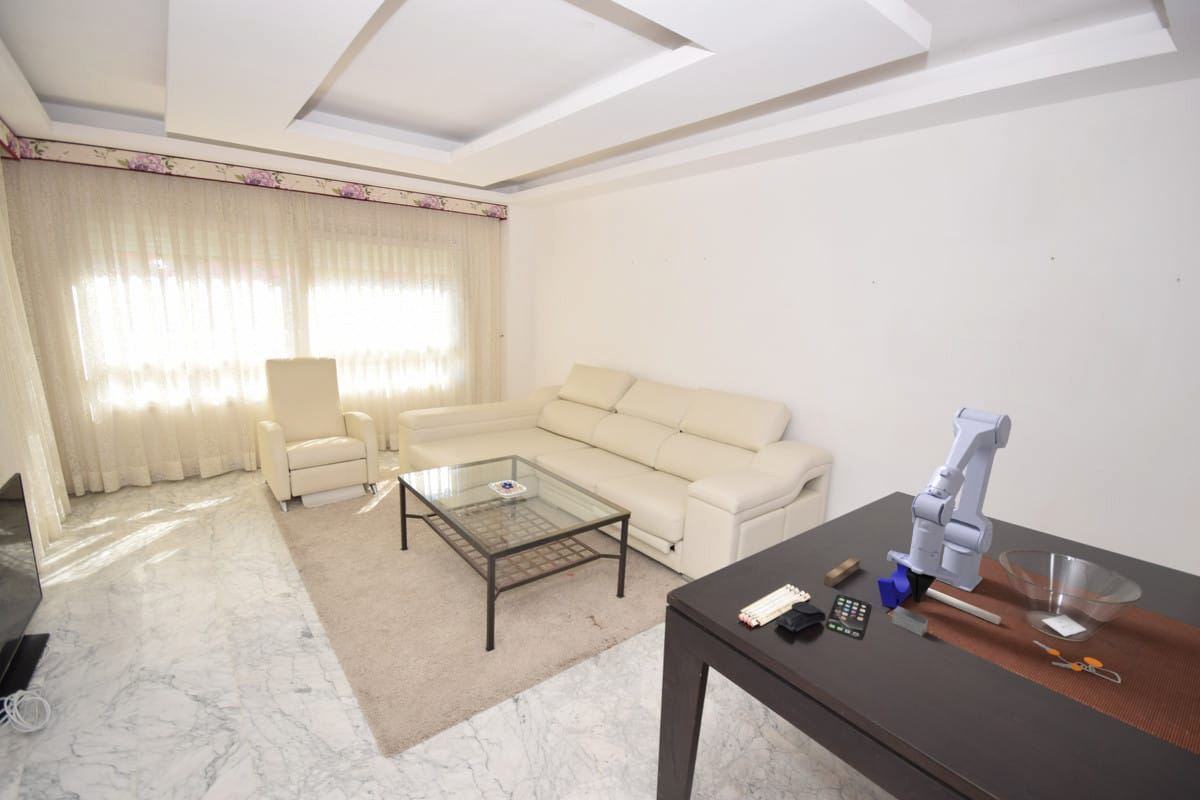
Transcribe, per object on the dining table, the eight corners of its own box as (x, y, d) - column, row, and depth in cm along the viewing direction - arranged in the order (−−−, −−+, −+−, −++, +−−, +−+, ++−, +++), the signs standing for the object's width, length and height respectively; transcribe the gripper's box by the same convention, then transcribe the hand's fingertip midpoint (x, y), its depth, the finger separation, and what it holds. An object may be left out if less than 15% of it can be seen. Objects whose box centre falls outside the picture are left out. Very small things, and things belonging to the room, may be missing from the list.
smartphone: (824, 627, 112) (837, 593, 125) (823, 629, 113) (836, 595, 125) (861, 640, 108) (871, 603, 121) (861, 642, 109) (871, 606, 121)
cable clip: (897, 582, 129) (892, 559, 129) (917, 586, 125) (912, 562, 125) (876, 604, 122) (870, 579, 121) (896, 608, 118) (891, 582, 118)
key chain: (1115, 666, 102) (1116, 663, 102) (1122, 689, 96) (1124, 685, 96) (1032, 640, 110) (1033, 636, 109) (1034, 659, 104) (1035, 656, 104)
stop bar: (851, 565, 138) (852, 557, 137) (858, 568, 136) (859, 560, 136) (824, 583, 129) (825, 575, 128) (831, 587, 127) (832, 578, 127)
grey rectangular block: (896, 618, 116) (898, 606, 115) (926, 631, 111) (928, 619, 111) (891, 622, 114) (893, 610, 114) (921, 636, 110) (923, 623, 109)
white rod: (898, 581, 130) (899, 574, 130) (1000, 622, 115) (1001, 615, 114) (895, 583, 129) (896, 577, 129) (997, 626, 114) (998, 618, 113)
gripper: (884, 539, 119) (876, 592, 122) (957, 565, 108) (946, 623, 111) (897, 530, 123) (890, 582, 126) (968, 555, 112) (958, 611, 115)
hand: (917, 600), depth 119 cm, fingers closed
